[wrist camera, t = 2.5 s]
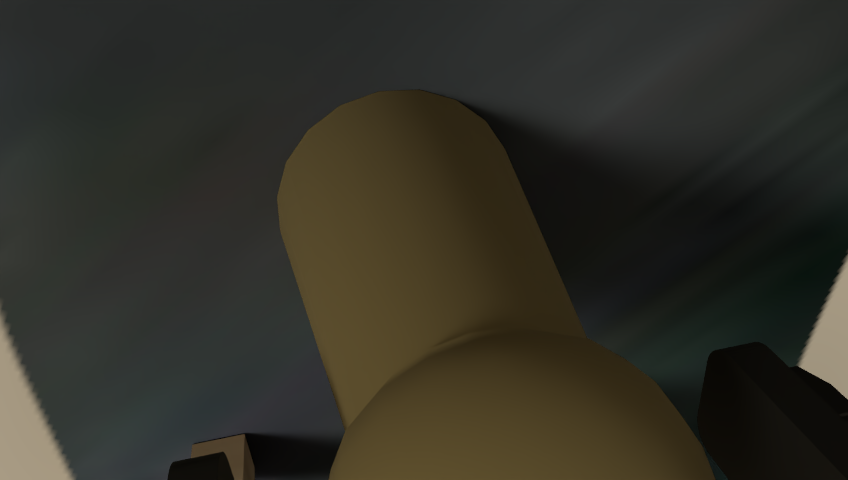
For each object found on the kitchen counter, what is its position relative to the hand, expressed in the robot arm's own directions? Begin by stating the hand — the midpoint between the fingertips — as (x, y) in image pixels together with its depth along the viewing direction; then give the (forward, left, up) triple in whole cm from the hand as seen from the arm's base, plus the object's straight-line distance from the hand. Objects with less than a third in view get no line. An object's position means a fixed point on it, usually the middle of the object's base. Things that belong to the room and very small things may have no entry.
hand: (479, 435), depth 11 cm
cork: (0, 0, -8) cm, 8 cm away
